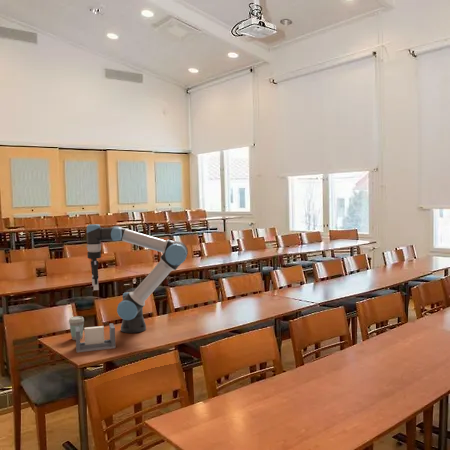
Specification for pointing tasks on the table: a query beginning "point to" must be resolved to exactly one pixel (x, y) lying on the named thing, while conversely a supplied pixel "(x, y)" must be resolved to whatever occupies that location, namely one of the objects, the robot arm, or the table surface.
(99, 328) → the block
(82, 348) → the track
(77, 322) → the coffee cup
